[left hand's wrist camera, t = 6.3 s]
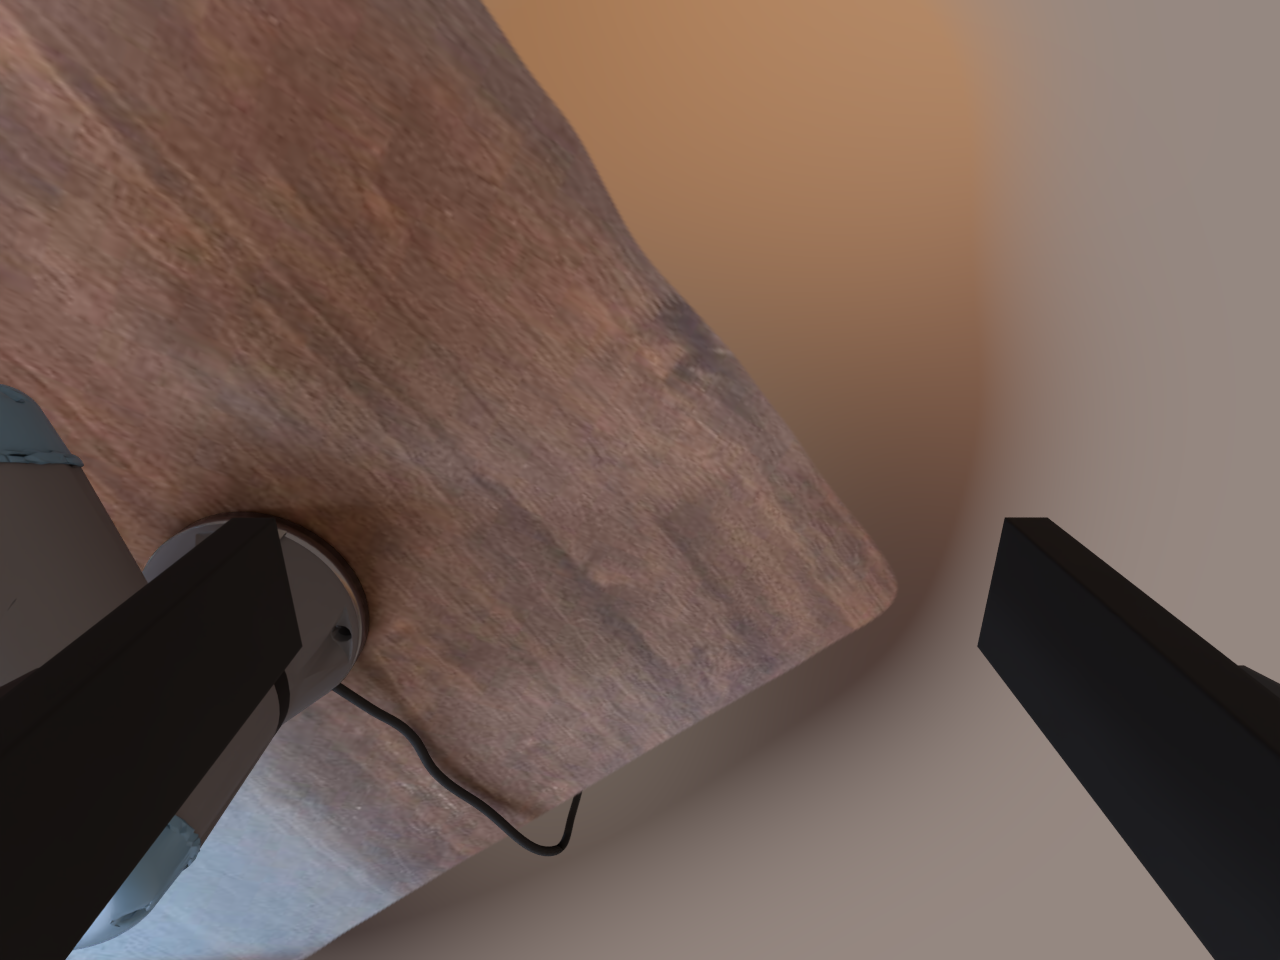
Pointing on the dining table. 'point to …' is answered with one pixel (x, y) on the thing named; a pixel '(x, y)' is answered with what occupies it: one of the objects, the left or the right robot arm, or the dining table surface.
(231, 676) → the left robot arm
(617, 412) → the dining table surface
